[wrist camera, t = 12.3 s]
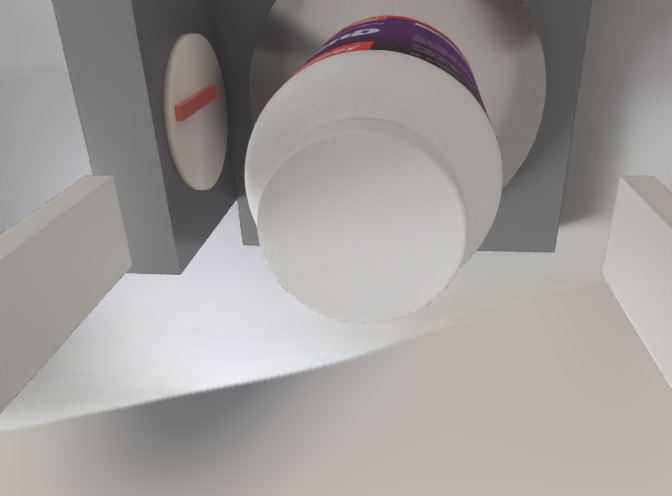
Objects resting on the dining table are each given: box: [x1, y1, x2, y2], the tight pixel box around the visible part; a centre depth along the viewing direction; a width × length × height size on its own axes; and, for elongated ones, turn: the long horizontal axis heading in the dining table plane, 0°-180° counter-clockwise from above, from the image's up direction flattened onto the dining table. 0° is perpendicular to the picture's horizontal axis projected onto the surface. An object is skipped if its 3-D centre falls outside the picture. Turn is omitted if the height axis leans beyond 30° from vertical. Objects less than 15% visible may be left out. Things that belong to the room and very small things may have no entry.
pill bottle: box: [245, 15, 503, 323], centre depth 21 cm, size 8×8×14 cm
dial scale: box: [52, 0, 591, 275], centre depth 27 cm, size 21×18×12 cm
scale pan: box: [249, 0, 546, 189], centre depth 29 cm, size 14×14×2 cm
